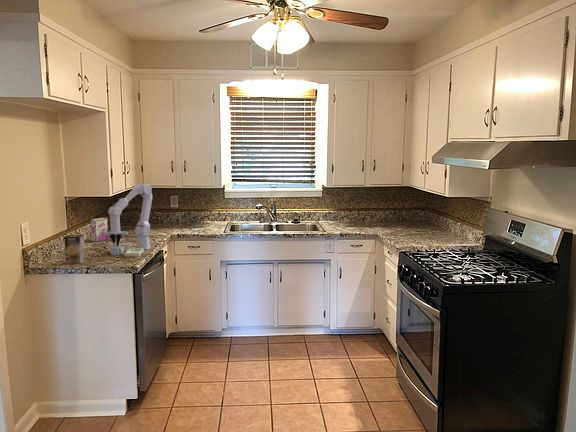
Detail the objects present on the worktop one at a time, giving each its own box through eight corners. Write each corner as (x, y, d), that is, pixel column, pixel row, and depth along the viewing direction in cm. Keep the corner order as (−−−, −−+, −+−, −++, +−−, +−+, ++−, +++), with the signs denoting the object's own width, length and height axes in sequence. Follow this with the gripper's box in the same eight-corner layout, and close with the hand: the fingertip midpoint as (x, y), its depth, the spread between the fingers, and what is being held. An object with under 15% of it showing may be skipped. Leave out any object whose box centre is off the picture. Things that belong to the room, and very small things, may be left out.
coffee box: (65, 263, 261) (63, 236, 259) (70, 261, 267) (68, 234, 265) (81, 263, 261) (79, 236, 259) (85, 260, 267) (84, 234, 265)
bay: (109, 251, 295) (109, 243, 294) (130, 250, 296) (129, 243, 296) (105, 254, 286) (105, 246, 285) (126, 253, 288) (126, 245, 287)
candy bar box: (96, 241, 325) (94, 219, 323) (91, 241, 328) (90, 219, 325) (108, 239, 335) (107, 217, 333) (104, 238, 337) (103, 217, 335)
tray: (130, 252, 292) (130, 248, 292) (143, 251, 293) (143, 248, 293) (124, 257, 278) (124, 253, 277) (138, 256, 279) (138, 252, 278)
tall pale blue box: (115, 251, 293) (115, 240, 291) (121, 251, 293) (121, 240, 292) (111, 255, 283) (110, 243, 282) (117, 255, 283) (117, 243, 282)
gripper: (101, 226, 281) (102, 247, 282) (125, 226, 282) (126, 247, 284) (105, 224, 287) (106, 245, 289) (128, 224, 289) (129, 244, 291)
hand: (116, 246), depth 287 cm, fingers closed on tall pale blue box
